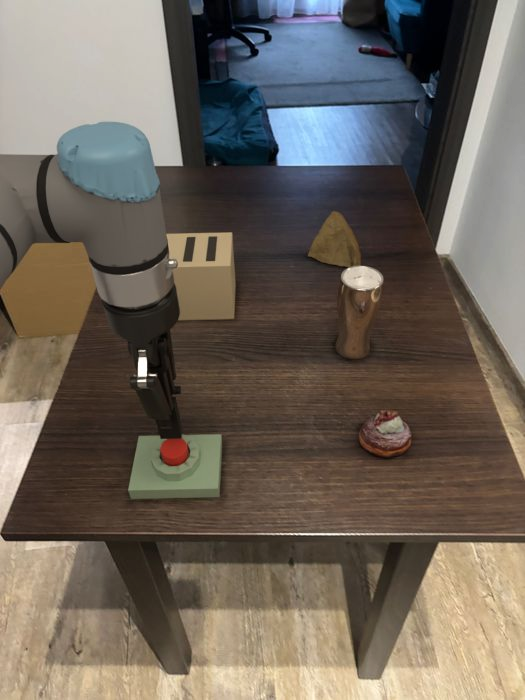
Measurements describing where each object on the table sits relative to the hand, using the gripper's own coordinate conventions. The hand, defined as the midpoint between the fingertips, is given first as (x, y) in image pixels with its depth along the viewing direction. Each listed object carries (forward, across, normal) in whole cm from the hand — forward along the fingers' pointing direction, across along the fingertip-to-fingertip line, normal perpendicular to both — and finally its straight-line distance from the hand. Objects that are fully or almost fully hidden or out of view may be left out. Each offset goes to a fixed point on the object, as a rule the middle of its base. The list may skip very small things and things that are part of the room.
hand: (171, 434), depth 69 cm
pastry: (+9, +4, -30) cm, 31 cm away
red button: (+5, 0, 0) cm, 5 cm away
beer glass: (+9, +24, -28) cm, 38 cm away
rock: (+9, +52, -28) cm, 59 cm away
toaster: (+8, +38, +1) cm, 39 cm away
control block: (+8, 0, 0) cm, 8 cm away
